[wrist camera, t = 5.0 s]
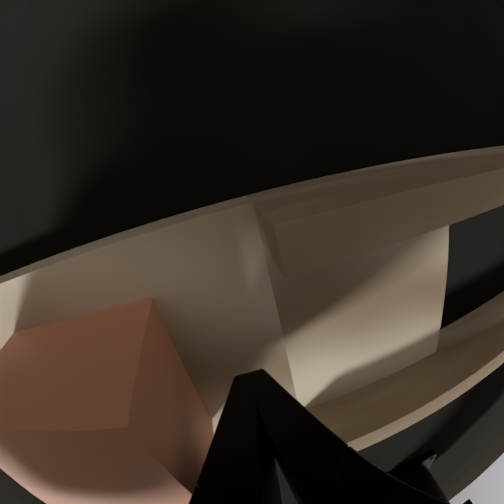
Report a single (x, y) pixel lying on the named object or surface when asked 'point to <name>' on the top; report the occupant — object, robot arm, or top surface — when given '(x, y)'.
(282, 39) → the top surface
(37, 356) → the block
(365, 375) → the beige open frame tray
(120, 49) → the top surface
